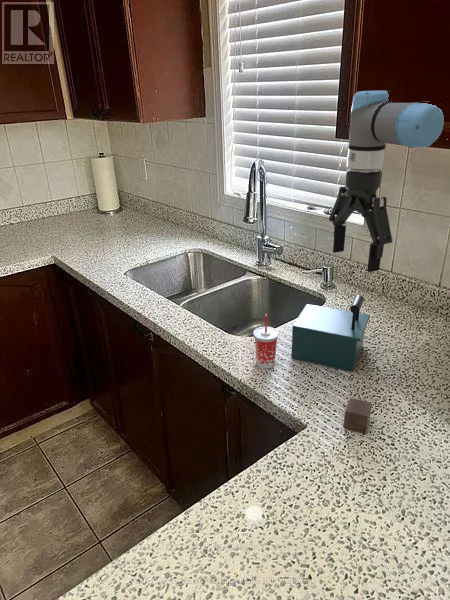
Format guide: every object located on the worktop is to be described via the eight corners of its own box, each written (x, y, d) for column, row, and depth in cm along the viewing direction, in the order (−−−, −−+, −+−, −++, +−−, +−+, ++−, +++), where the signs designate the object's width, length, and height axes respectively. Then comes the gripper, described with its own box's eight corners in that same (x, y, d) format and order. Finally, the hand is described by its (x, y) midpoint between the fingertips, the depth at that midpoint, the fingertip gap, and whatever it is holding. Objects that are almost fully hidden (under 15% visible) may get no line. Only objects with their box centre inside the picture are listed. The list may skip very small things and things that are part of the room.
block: (369, 419, 93) (372, 402, 91) (365, 434, 90) (368, 416, 88) (347, 414, 95) (349, 397, 93) (343, 427, 91) (345, 410, 89)
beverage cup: (282, 365, 112) (284, 316, 105) (263, 373, 109) (263, 323, 103) (268, 353, 116) (268, 306, 110) (248, 361, 114) (248, 313, 107)
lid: (369, 317, 114) (372, 291, 111) (360, 341, 104) (363, 313, 100) (306, 306, 120) (308, 281, 117) (292, 328, 110) (293, 301, 107)
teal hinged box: (362, 346, 118) (366, 317, 114) (353, 372, 108) (356, 341, 104) (305, 334, 124) (306, 306, 120) (291, 358, 114) (292, 328, 110)
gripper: (318, 162, 106) (313, 246, 116) (388, 181, 85) (375, 282, 95) (344, 159, 108) (338, 242, 118) (420, 177, 87) (404, 276, 97)
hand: (354, 260), depth 106 cm, fingers open, 13 cm apart
